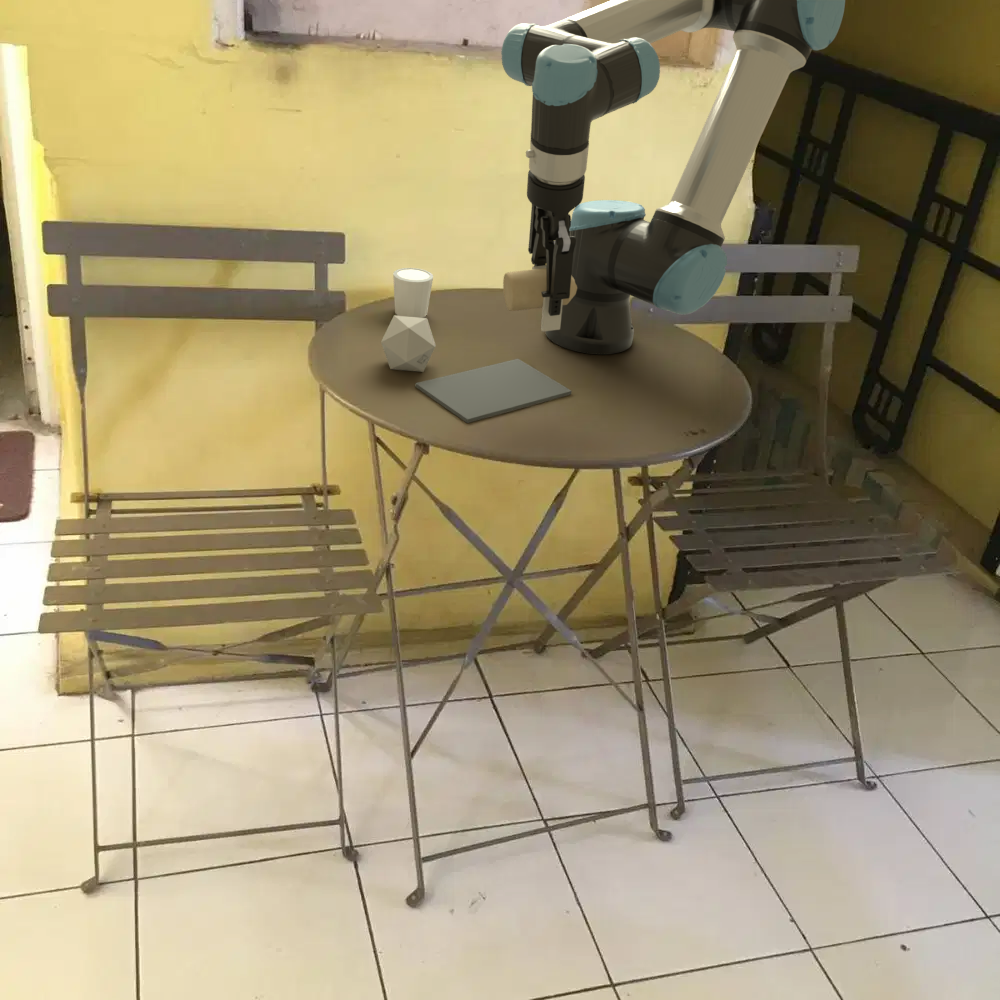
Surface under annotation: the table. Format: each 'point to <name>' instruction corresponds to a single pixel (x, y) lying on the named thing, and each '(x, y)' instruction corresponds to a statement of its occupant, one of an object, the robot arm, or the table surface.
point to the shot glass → (412, 292)
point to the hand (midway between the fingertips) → (544, 316)
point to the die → (408, 343)
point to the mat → (492, 390)
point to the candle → (528, 289)
